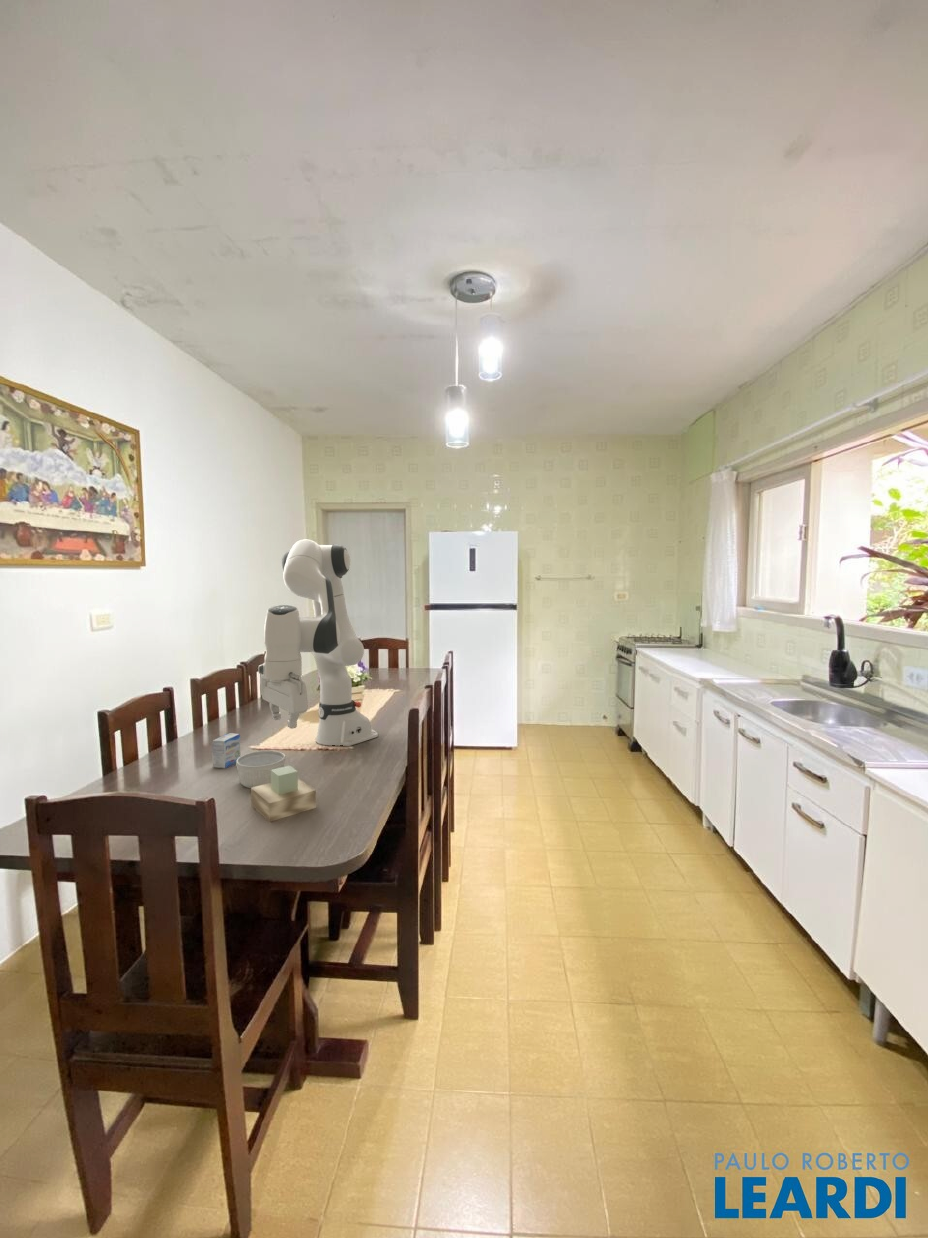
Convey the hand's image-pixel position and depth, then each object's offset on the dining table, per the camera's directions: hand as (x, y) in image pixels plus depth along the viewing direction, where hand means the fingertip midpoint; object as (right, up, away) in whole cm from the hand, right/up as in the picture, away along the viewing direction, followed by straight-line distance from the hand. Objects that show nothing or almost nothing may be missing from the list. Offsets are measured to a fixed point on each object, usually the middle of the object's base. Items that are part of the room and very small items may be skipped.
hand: (284, 723), depth 132 cm
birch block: (-1, -22, +2) cm, 22 cm away
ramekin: (-13, -21, +18) cm, 30 cm away
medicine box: (-29, -19, +30) cm, 46 cm away
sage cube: (0, -17, +1) cm, 17 cm away
